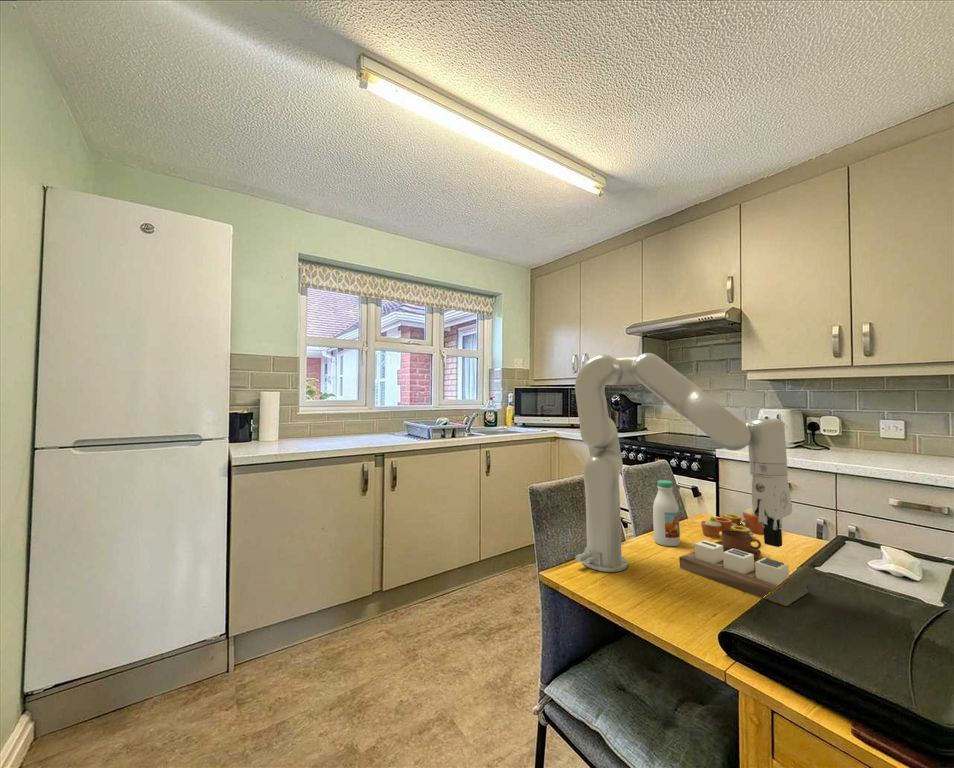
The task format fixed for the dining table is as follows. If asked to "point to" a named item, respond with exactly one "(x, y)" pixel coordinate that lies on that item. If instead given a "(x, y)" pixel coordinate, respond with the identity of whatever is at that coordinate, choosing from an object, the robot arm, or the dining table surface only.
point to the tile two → (738, 561)
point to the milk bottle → (666, 515)
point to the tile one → (709, 552)
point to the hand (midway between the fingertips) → (773, 544)
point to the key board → (726, 575)
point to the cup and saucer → (739, 542)
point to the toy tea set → (732, 524)
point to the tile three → (771, 571)
